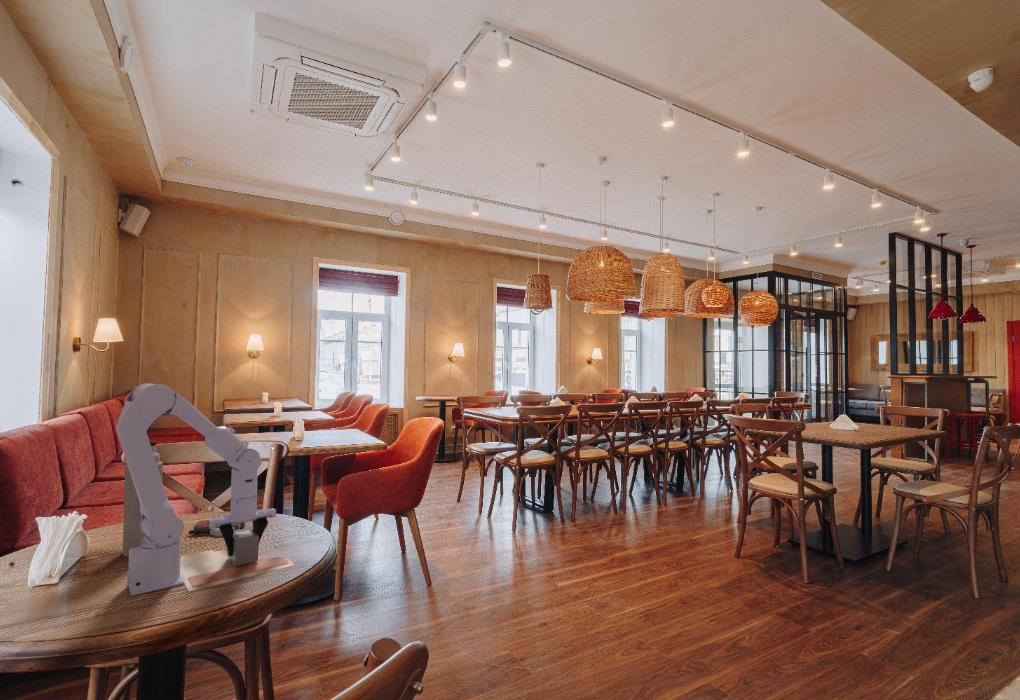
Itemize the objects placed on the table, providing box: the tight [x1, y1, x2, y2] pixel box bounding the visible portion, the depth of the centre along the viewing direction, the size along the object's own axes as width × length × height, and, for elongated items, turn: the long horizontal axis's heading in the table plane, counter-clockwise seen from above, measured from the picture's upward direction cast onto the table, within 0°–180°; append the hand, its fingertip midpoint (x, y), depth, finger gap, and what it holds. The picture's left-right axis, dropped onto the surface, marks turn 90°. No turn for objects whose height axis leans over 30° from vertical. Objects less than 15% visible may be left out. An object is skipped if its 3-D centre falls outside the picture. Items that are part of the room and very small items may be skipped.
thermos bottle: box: [122, 440, 164, 558], centre depth 131 cm, size 8×8×28 cm
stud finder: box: [228, 527, 259, 566], centre depth 124 cm, size 5×8×6 cm, turn 41°
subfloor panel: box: [180, 549, 296, 593], centre depth 124 cm, size 22×24×1 cm
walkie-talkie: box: [188, 515, 253, 537], centre depth 146 cm, size 9×4×20 cm
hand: (243, 552), depth 124 cm, fingers closed on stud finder, 5 cm apart
